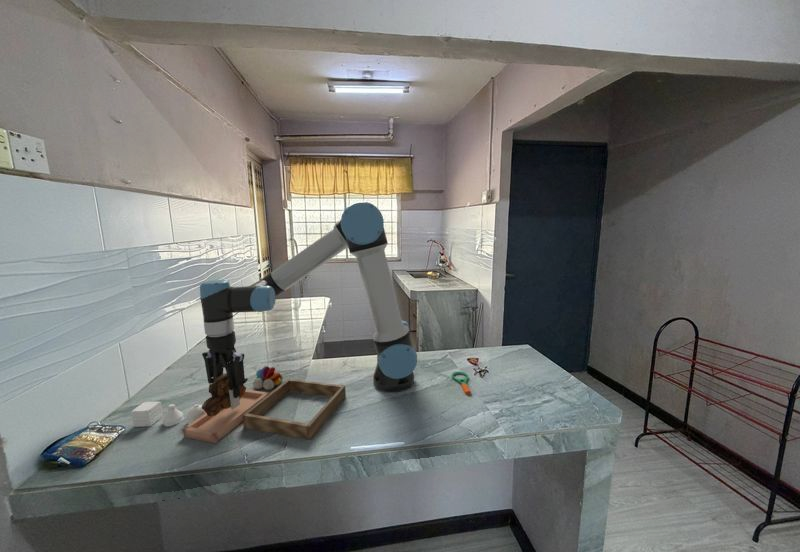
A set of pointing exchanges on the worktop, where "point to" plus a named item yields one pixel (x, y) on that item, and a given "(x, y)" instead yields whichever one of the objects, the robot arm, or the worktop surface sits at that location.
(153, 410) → the container set
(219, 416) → the tray
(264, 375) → the rainbow ball cluster
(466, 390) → the magnifying glass
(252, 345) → the worktop surface
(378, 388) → the robot arm
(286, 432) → the frame
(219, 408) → the wooden carving
